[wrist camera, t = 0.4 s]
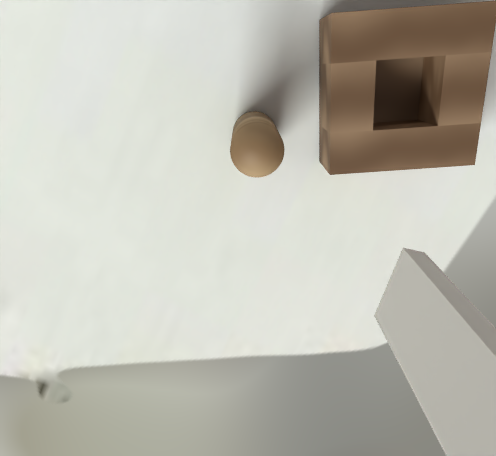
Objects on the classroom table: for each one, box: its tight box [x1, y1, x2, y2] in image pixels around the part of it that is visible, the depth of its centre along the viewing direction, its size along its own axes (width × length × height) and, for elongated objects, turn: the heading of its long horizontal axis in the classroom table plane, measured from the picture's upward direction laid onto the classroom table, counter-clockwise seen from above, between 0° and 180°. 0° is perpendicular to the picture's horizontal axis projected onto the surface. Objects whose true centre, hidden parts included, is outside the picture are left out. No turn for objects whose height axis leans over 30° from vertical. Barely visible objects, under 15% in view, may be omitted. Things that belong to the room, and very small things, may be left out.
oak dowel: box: [230, 111, 284, 177], centre depth 33 cm, size 4×4×8 cm
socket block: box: [319, 1, 496, 175], centre depth 34 cm, size 12×12×5 cm
